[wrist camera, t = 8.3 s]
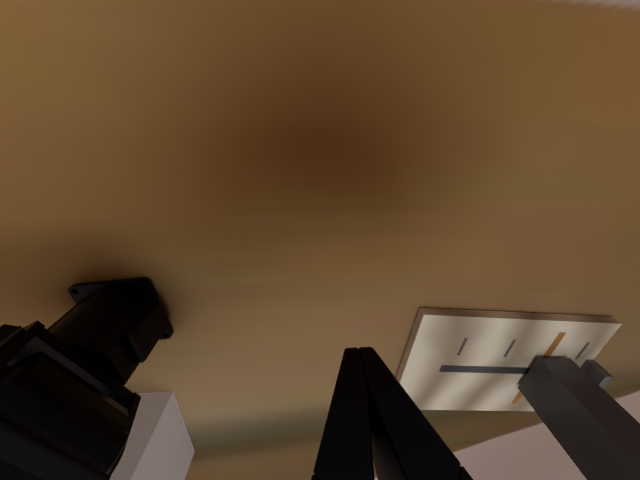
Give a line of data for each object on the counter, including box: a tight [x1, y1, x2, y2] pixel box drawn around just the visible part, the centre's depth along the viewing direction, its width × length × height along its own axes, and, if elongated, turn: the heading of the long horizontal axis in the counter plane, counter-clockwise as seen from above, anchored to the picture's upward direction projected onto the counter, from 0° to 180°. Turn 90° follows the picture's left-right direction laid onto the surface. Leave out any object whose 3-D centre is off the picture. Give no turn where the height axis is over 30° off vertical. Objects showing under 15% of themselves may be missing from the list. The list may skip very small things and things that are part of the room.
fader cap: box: [518, 357, 640, 480], centre depth 23 cm, size 4×5×10 cm
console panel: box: [396, 307, 622, 411], centre depth 27 cm, size 20×14×3 cm
